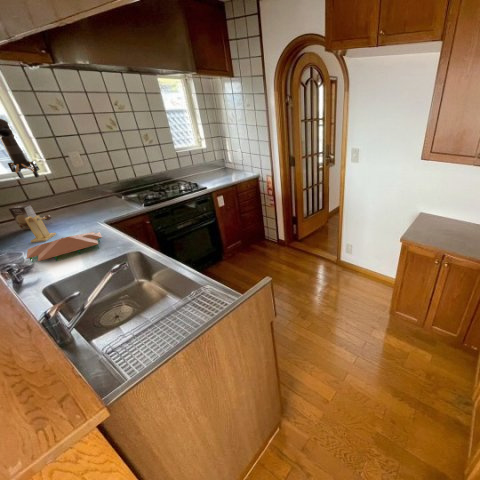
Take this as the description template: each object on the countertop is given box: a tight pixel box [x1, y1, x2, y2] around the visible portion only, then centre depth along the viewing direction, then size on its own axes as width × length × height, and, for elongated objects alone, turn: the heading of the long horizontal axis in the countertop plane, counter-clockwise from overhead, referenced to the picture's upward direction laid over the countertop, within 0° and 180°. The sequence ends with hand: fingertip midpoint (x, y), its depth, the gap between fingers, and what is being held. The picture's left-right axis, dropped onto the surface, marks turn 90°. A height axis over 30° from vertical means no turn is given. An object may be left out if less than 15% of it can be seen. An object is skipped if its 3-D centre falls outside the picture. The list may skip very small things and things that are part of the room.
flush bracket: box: [25, 214, 57, 243], centre depth 164 cm, size 10×8×15 cm
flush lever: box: [29, 214, 52, 222], centre depth 167 cm, size 14×4×4 cm, turn 12°
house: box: [26, 231, 103, 262], centre depth 150 cm, size 23×33×8 cm
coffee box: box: [8, 204, 37, 231], centre depth 180 cm, size 9×6×16 cm
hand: (30, 177), depth 175 cm, fingers open, 8 cm apart
